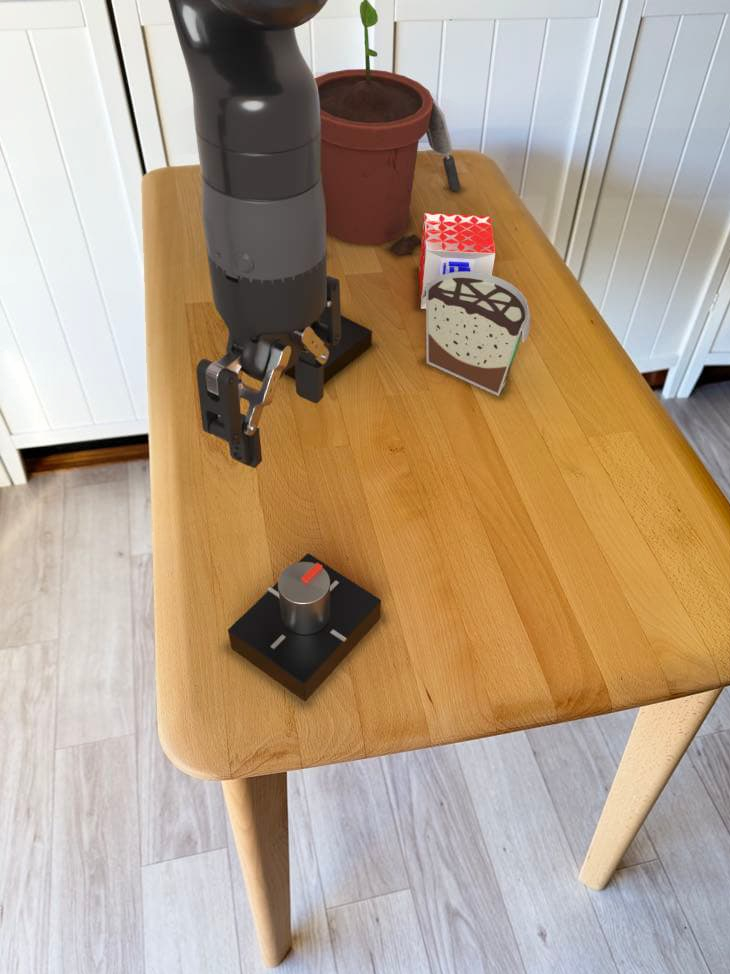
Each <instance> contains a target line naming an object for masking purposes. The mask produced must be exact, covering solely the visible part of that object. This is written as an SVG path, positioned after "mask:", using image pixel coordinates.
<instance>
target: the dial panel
mask: <svg viewBox="0 0 730 974" xmlns="http://www.w3.org/2000/svg"><path fill="white" fill-rule="evenodd" d="M298 562H311V563H315V564H316V563H319V564H321V565H322V566H323V569H324V570H325V571H326V572H327V574H328V576H329V579H330V619H329V621H328V623H327V625H326V626H325V627H324V628H323V629H321V630H320V631H318V632H316V633H313V634H308V635H302V634H297V633H294V632H292V631H290V630H289V629H288V628H287V627H286V626H285V625H284V623H283V621H282V618H281V609H280V599H279V590H278V581H277V582H276V583H275V584H274V585H273V586H268V587H267V588H266V591H267V592H265V593H264V594H263V595H262V596H261V597H260V598H259V599H258V600H257V601H256V602H255V603H254V604H253V605H252V606H251V607H250V608H249V609H248V610H247V611H246V612H245V613H243V615H241V616H240V617H239V618H238V619H237V620H236V621H235V622H234V623H233V624H232V625H231V626H230V627H229V628H228V629H227V634H228V639H229V643H230V648H231V650H232V651H234V652H235V653H237V654H238V655H239V656H241V657H242V658H243V659H245V660H246V661H248V662H249V663H250V664H252V665H253V666H255V667H256V668H257V669H259V670H260V671H261V672H263V673H264V674H265V675H267V676H268V677H269V678H271V679H273V680H274V681H276V682H277V683H278V684H280V686H282V687H284V688H285V689H287V691H288V692H289V691H290V693H292V694H293V695H295V696H296V697H298V698H299V699H301V701H303V702H307V700H308V699H309V698H310V697H311V696H313V693H315V692H316V690H317V689H318V688H319V687H320V686H321V685H322V684H323V682H325V680H326V679H327V678H328V677H329V676H330V675H331V674H332V673H333V672H334V670H335V669H336V668H337V667H338V666H339V665H340V664H341V663H342V662H343V661H344V660H345V658H346V657H347V656H348V655H349V654H350V653H351V652H352V650H354V649H355V648H356V646H357V645H358V644H359V643H360V642H361V641H362V640H363V639H364V637H366V635H367V634H368V633H369V632H370V631H371V630H372V629H373V627H374V626H375V625H376V624H377V623H378V622H379V621H380V619H381V608H382V599H380V598H379V597H377V596H376V595H374V594H373V593H371V592H370V591H368V590H367V589H365V588H364V587H362V586H360V585H359V584H357V583H356V582H354V581H352V580H351V579H349V578H348V577H346V576H345V575H344V574H342V573H340V572H338V571H337V570H336V569H334V568H332V567H331V566H329V565H328V564H326V563H325V562H323V561H322V560H320V559H318V558H317V557H315V556H314V555H312V554H310V553H309V552H308V553H306V554H305V555H304V556H303V557H302V558H301V559H300V560H299V561H298Z"/></svg>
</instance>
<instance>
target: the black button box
mask: <svg viewBox="0 0 730 974" xmlns="http://www.w3.org/2000/svg"><path fill="white" fill-rule="evenodd" d="M320 323H322V324H325V325H327V322H326V321H325V320H324V319H321V318H320ZM372 343H373V331H372V329H369V328H367V327H365V326H363V325H361V324H360V323H357V322H355V321H354V320H352V319H350V318H347V317H345V316H344V315H342V314H341V338H340V341H339V343H338V344H337V345H332V344H330V346H329V347H328V350H329V356H328V359H327V361H326V362H325V363H324V385H325V384H327V383H328V382H329V381H330V380H331V379H333V378H334V377H335V376H336V375H338V374H339V373H340V372H341V371H343V370H344V369H346V367H348V366H349V365H351V364H352V363H353V362H354V361H355V360H356V359H358V358H359V357H360V356H361V355H363V354H365V352H366V351H368V350H369V349H370V348H371V347H372ZM283 375H286V376H288V377H290V378H291V379H293V380H295V381H296V378H295V365H294V366H293V367H291V368H289V369H287V370H286V372H285V373H284V374H283Z"/></svg>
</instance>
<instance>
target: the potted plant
mask: <svg viewBox="0 0 730 974" xmlns="http://www.w3.org/2000/svg"><path fill="white" fill-rule="evenodd" d="M359 14H360V20H361V24H362V25H363V29H364V31H363V33H364V37H363V38H364V58H365V60H364V61H365V68H358V69H356V68H355V69H354V68H353V69H349V68H348V69H341V70H335V71H331V72H326V73H324V74H322V75H319V76H317V77H314V78H315V81H316V84H317V87H318V92H319V99H320V109H321V160H322V172H321V173H322V184H323V190H324V197H325V205H326V232H328V233H329V234H330V235H332V236H334V237H335V238H337V239H339V240H342V241H345V242H347V243H348V242H349V243H352V244H360V245H376V244H377V245H378V244H382V243H383V244H384V243H387V242H390V241H393V240H395V239H397V238H399V237H400V236H402V235H403V233H404V232H405V231H406V230H407V229H408V228H407V227H408V222H409V215H410V207H411V201H412V193H413V186H414V179H415V171H416V165H417V164H416V163H417V157H418V150H419V142H420V140H421V139H422V138H423V137H424V136H425V135H426V137H427V142H428V144H429V146H430V148H431V150H432V151H433V153H434V155H435V156H438V157H439V156H441V157H443V159H442V163H443V166H444V171H445V175H446V178H447V182H448V186H449V189H450V191H451V192H458V191H459V190H460V188H461V182H460V179H459V175H458V170H457V166H456V163H455V159H454V158H455V157H454V156H453V155H450V154H451V153H452V152H453V146H452V145H453V144H452V142H451V141H452V140H451V138H450V133H449V128H448V124H447V121H446V117H445V114H444V113H443V111H442V109H441V108H440V106H439V104H438V102H437V101H436V100H435V99H434V97H433V96H432V94H431V92H430V89H428V88H426V87H425V86H424V85H422V84H421V83H420V82H419V81H417V80H415V79H413V78H410V77H407V76H405V75H402V74H398V73H394V72H391V71H388V70H387V71H386V70H379V69H371V64H370V62H371V61H370V60H371V59H370V57H374V58H375V57H378V52H377V51H376V50H373V49H371V48H370V43H369V28H370V27H373V26H375V25H377V23H378V21H379V16H378V13H377V9H375V7H374V6H372V4H371V3H370V2H369V0H363V1H361V2H360V5H359ZM420 245H422V241H420V240H419V238H418V237H417V236H416V234H415V233H413V234H412V235H410V236H407V237H406V236H403V237H400V239H398V240H396V241H395V242H394V243H393V244H392V245H391V246H390V248H389V249H388V250H389V251H390V252H392V253H394V254H395V255H397V256H405V255H413V252H414V249H415V248H416V247H418V246H420Z"/></svg>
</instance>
